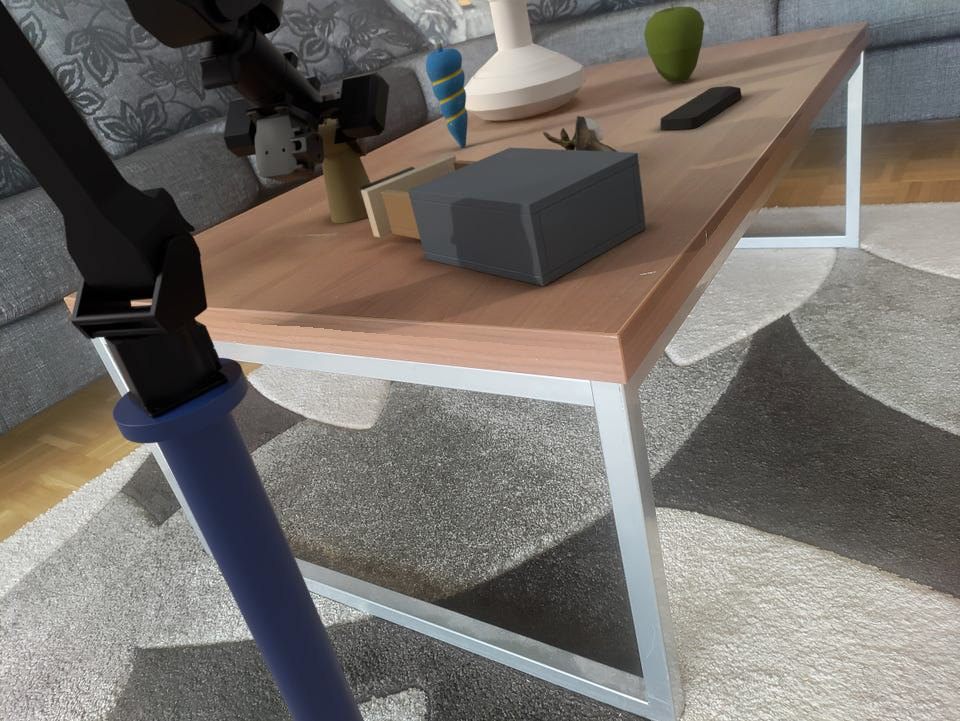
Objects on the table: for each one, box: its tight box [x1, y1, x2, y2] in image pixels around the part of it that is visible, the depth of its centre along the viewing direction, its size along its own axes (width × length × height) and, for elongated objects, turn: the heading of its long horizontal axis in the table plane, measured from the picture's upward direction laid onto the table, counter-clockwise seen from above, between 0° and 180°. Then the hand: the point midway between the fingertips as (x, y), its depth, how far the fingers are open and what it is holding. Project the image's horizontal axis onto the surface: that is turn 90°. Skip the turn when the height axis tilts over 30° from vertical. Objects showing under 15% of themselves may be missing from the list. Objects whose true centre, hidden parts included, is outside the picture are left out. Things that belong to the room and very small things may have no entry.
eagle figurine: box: [542, 115, 618, 152], centre depth 83 cm, size 8×7×9 cm
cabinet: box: [408, 147, 647, 287], centre depth 66 cm, size 16×13×7 cm
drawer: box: [358, 155, 478, 240], centre depth 75 cm, size 19×11×5 cm, turn 41°
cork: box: [318, 118, 371, 224], centre depth 87 cm, size 6×6×11 cm
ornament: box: [425, 37, 469, 149], centre depth 106 cm, size 5×5×15 cm
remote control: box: [659, 85, 742, 131], centre depth 97 cm, size 5×2×15 cm
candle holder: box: [464, 0, 586, 122], centre depth 119 cm, size 20×20×19 cm
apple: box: [643, 2, 705, 84], centre depth 115 cm, size 9×8×12 cm
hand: (345, 155), depth 87 cm, fingers closed on cork, 5 cm apart
